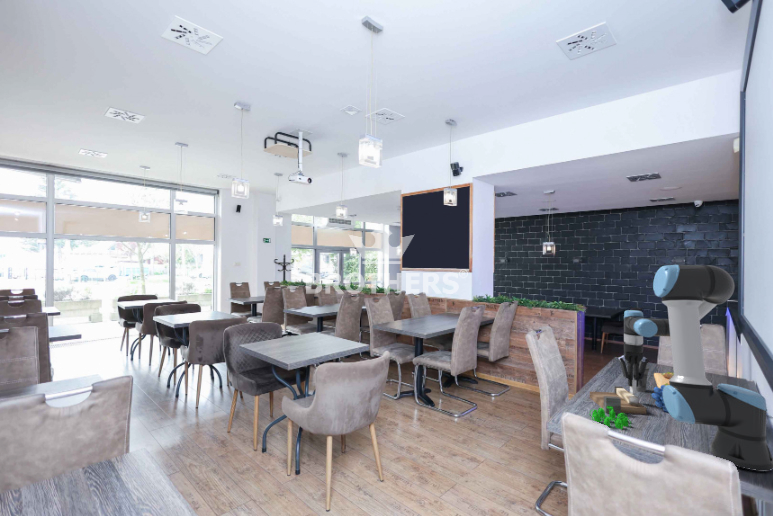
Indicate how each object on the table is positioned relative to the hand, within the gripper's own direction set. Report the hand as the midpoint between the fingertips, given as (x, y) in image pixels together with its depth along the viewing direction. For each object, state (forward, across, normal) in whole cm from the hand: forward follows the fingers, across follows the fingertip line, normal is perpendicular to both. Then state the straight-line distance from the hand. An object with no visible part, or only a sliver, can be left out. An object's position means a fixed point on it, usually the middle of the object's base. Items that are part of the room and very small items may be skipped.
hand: (633, 393), depth 175 cm
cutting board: (+5, -38, -26) cm, 47 cm away
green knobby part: (+5, +21, +24) cm, 33 cm away
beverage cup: (+5, -13, -18) cm, 23 cm away
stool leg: (+1, +5, +11) cm, 12 cm away
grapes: (+5, -9, +11) cm, 15 cm away
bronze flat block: (+4, +10, +5) cm, 12 cm away
